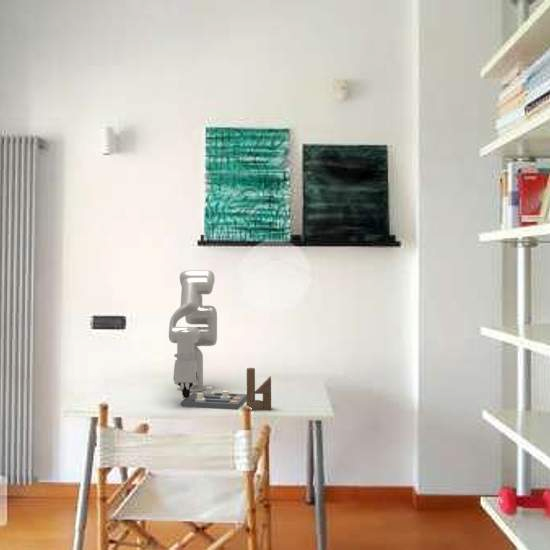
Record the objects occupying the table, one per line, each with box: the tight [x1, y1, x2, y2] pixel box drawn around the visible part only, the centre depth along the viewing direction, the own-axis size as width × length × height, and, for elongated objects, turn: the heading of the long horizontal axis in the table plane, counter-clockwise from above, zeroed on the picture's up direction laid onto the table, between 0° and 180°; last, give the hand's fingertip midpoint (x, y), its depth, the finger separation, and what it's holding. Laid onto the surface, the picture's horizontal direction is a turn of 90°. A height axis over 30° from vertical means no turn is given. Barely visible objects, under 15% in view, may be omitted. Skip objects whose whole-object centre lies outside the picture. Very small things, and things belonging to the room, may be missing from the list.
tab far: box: [204, 386, 216, 395], centre depth 262 cm, size 4×3×4 cm
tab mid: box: [220, 389, 231, 399], centre depth 254 cm, size 4×3×4 cm
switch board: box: [180, 391, 247, 410], centre depth 255 cm, size 26×18×3 cm
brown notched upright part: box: [245, 367, 272, 411], centre depth 244 cm, size 4×11×18 cm, turn 94°
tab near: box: [195, 393, 206, 402], centre depth 250 cm, size 4×3×4 cm
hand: (186, 397), depth 252 cm, fingers closed
